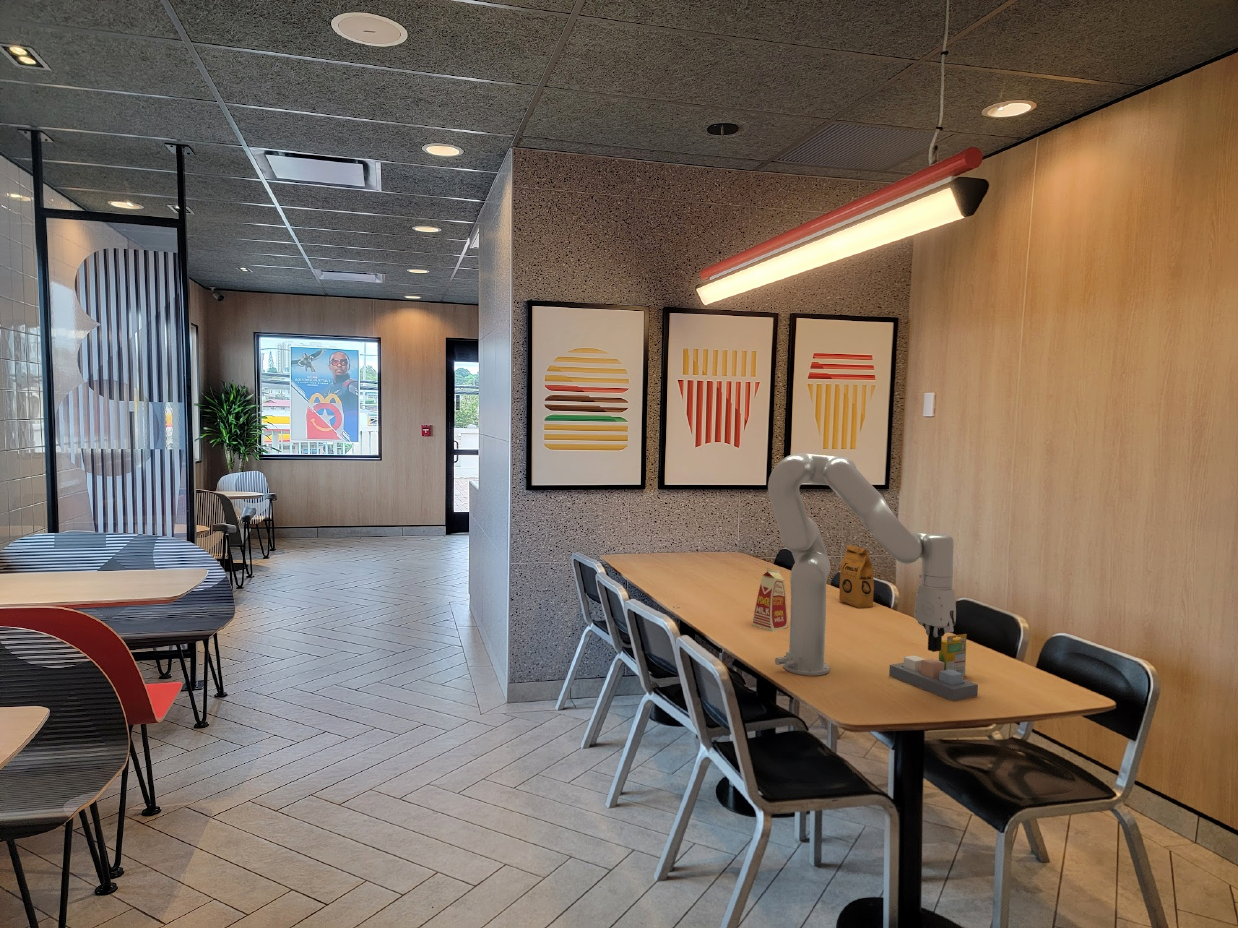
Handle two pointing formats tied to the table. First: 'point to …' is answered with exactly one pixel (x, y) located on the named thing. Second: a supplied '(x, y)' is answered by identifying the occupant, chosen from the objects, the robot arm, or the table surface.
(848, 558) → the coffee package
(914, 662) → the ivory key
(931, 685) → the panel
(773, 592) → the milk carton
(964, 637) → the crayon box
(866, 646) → the table surface
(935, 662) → the terracotta key
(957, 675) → the slate key
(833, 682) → the table surface
